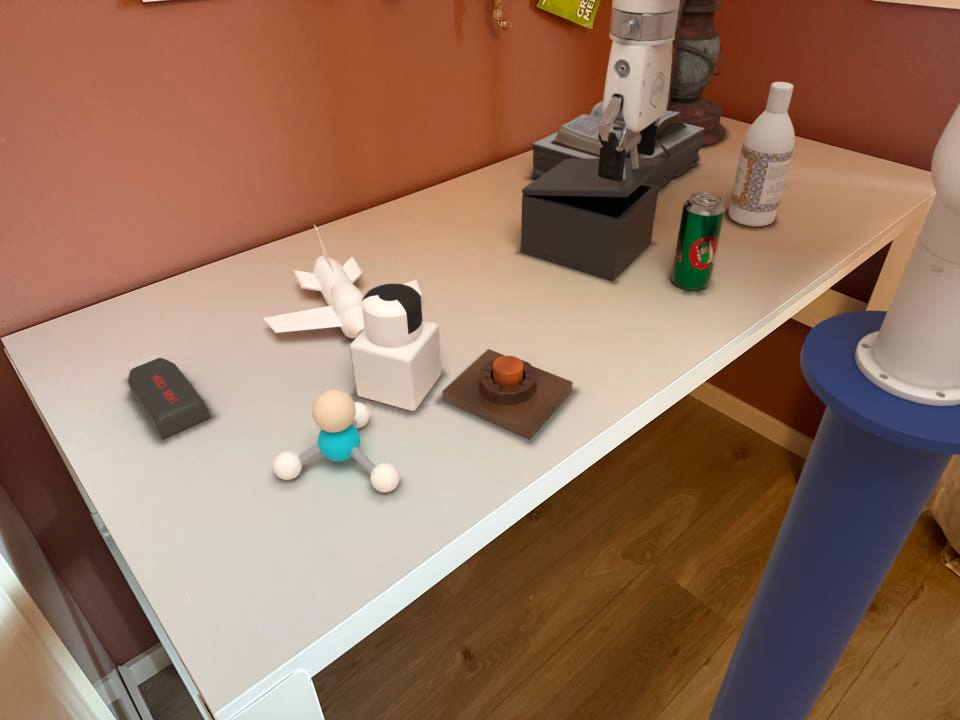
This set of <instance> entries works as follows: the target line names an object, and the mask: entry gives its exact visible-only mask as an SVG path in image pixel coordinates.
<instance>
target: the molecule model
mask: <svg viewBox="0 0 960 720" xmlns="http://www.w3.org/2000/svg"><path fill="white" fill-rule="evenodd" d="M311 416H312V419H313V421H314V423H315V425H317V427H318V428H319V429H320V431H319V432H318V437H317V443H316V444H315V445H312V446H311V447H310V448H308V449H307V450H305V451H303V452H301V453H300V454H298V453H296V452H294V451H292V450H286V451H282V452H280V453H278V454H277V455H276V456H275V458H274V459H273V461H272V471H273V472H274V475H276V477H278V478H279V479H280V480H284V481H290V480H293V479H295V478H297V477H298V476H299V475H300V473H301V471H302V469H303V466H304V465H305V464H307V463H309V462H310V461H312V460H314V459H315V458H317V457H318V456H320V455H321V454H322V455H323V456H324V457H325V458H326V459H328V460H330V461H332V462H345V461H348V460H350V459H352V458H353V459H354V460H355V461H356V462H357V464H358V465H359V466H361V467H362V468H363V470H365V472H366V473H368V475H369V476H370V477H369V478H370V479H369V481H370V484H371V486H372V487H373V489H375V490H376V491H378V492H380V493H389V492H392V491H393V490H395V489H396V488H397V487H398V485H399V483H400V479H401V477H400V473H399V470H398V468H397V467H396V466H395V465H393V464H392V463H389V462H382V463H379V464H377V465H375V464H374V463H373V461H372V460H371V459H370V458H369V457H368V456H367V455H366V454H365V453H364V452H363V451H362V450H361V449H360V446H361V434H360V432H359V430H358V429H361V428H363V427H365V426H366V425H367V424H368V422H369V420H370V410H369V408H368V407H367V405H365V404H364V403H362V402H358V401H354V400H353V398H352V396H351V395H350V394H348V393H347V392H346V391H343V390H341V389H335V388H333V389H327V390H325V391H323V392H321V393H320V394H318V395H317V396H316V398H315V399H314V401H313V404H312V406H311Z"/></svg>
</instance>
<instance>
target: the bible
mask: <svg viewBox="0 0 960 720" xmlns="http://www.w3.org/2000/svg"><path fill="white" fill-rule="evenodd" d="M602 111H603V100H602V101H600V102H598V103H596V104H595V105H594V106H593V108H592V109H591V111H590V112H589V113H590V114H586V113H585V114H580V115H579V116H577V117H576V118H574V119H572V120H571V121H568V122H566V123H564V124H562V125H560V126H559V129H558V131H556V132H554V133H551V134H549V135H548V136H546V137H544V138H541V139H539V140H537V141H535V142H533V143H532V174H531V175H532V176H531V178H533V179H535V180H536V179H538V178H539V177H541V176H542V175H544V174H545V173H546V172H548V171H549V170H551V169H552V168H554V167H555V166H557V165H558V164H559V163H561V162H562V161H564V160H565V159H591V158H599V157H600V147H599V142H600V141H599V136H598V135H599V129H598V121H599V119H600V117H601V116H602ZM617 123H622V124H625V122H622V121H617ZM654 125H658V130H657V137H656V144H655V151H654V154H653V155H651V156H648V155H644V154H639V153H638V158H666V164H665V165H663V166H662V167H661V168H660V169H659V170H658V171H657V172H655V173H654V174H653V175H652V176H651V177H650V178H648V179H647V180H646V181H645V182H644V183H646V184H650V185H654V186H658V187H659V190H660V189H661V188H662V187H665V185H667V184H668V183H669V182H670V181H671V179H673V178H674V177H677V178H678V177H679V176H681V175H683V174H684V173H686V172H688V171H689V170H690V169H691V168H694V167H695V166H696V165H698V162H700V158H701V156H700V154H699V152H700V150H701V149H702V147H701V145H702V141H703V134H704V131H705V129H704V128H702V127H698V126H694V125H689V124H685V123H683V122H682V120H681V118H680V114H679V113H678V112H672V111H665V113H664V114H663V115H662V116H661V117H660V120H659V123H658V124H654ZM612 132H613V133H615V134H616V136H617V138H618V139H619V136H620V134H621V131H616V130H612ZM625 158H631V152H630V151H628V152H627V153H626V155H625Z"/></svg>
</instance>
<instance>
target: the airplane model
mask: <svg viewBox="0 0 960 720" xmlns="http://www.w3.org/2000/svg"><path fill="white" fill-rule="evenodd" d="M313 226H314V230H315V232H316V236H317V239H318V242H319V246H320V250H321V252H322V255H320V256H318V257H317V258H316V260H315V261H314V265H313V269H312V272H309V271H302V270H296V269H293V272H294V274H295V278H296V279H297V281H298V282H297V283H298V284H299V286H300V288H301V289H303V290H310V291H315V292H320V294H321V295H322V297H323V299H324V301H325V302H326V304H327V306H322V307H321V306H320V307H316V308H311V309H305V310H300V311H299V310H298V311H293V312H289V313H283V314H277V315H272V316H271V315H270V316H266V317H262V319H263V320H264V322H265V323H266V324H267V325H268V326H269V327H270V329H271V330H272V331H273V333H274V334H282V333H290V332H300V331H310V330H319V329H329V328H340V329H341V331H342V333H343V334H344V335H345V337H347V338H350V339H356V338H357V337H358V336H359V334H360V333H361V332H362V331H363V330H364V329H365V326H364V318H363V311H362V303H361V302H362V299H363V297H364V296H365V294H364V293H363V292H362V291H361V290H360V289H359V288H358V287H357V286H356V285H355V284H354V283H355V282H356V281H357V280H358V279H360V278H361V276H363V274H364V271H363V270H362V269H361V267H360V266H359V264H358V263H357V261H356V259H355V258H354V256H351V257H350V258H349V259H348V260H347V261H346V262H345V263H344V264H343V265H342V264H341V263H340V262H339V261H337V260H335V259H334V258H332V257H330V256H329V255H328V252H327V249H326V247H325V244H324V242H323V240H322V237H321V235H320V232H319V229H318V227H317V226H316V225H315V224H313ZM402 284H403V285H407V286H410V287H412V288H413V289H415V290H416V291H417V292H418V293H419V294H420V297H422V295H423V294H422V291H421V289H420V286H419V284H418V281H417V279H414V280H411V281H408V282H405V283H402Z"/></svg>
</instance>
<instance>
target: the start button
mask: <svg viewBox="0 0 960 720" xmlns="http://www.w3.org/2000/svg"><path fill="white" fill-rule="evenodd" d="M520 359H521V358H519V357H517V356H514V355H505V356H501V357H499V358H497V359H496V360H495V361H494V363H493V379H494V381H495V382H496V383H497V384H499V385H501V386H515V385H518V384H519V383H520V382H521V381H522V380H523V362H522V361H521V360H522V359H521V360H520Z"/></svg>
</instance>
